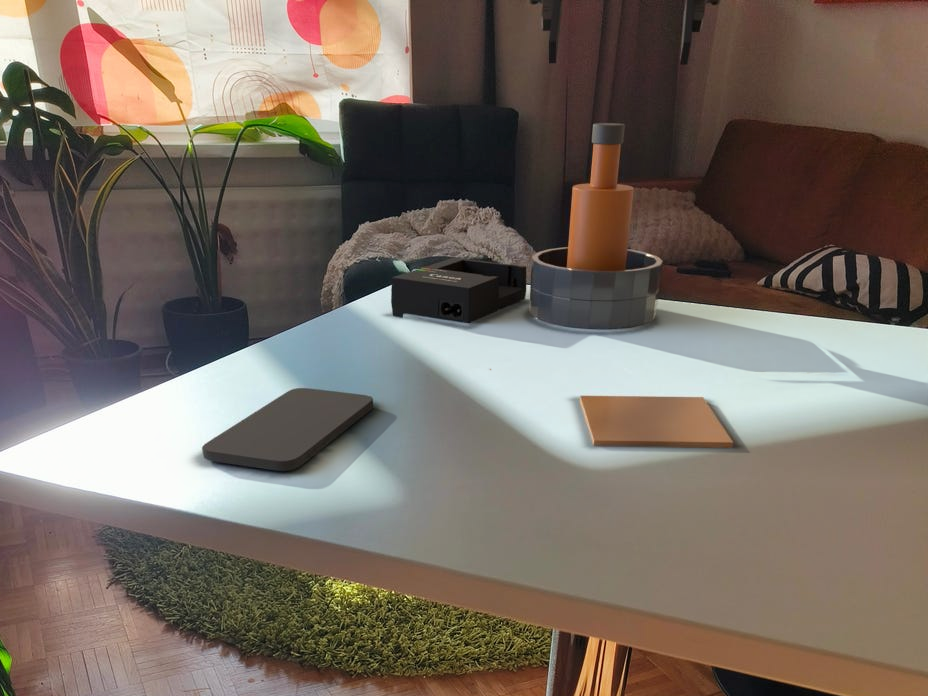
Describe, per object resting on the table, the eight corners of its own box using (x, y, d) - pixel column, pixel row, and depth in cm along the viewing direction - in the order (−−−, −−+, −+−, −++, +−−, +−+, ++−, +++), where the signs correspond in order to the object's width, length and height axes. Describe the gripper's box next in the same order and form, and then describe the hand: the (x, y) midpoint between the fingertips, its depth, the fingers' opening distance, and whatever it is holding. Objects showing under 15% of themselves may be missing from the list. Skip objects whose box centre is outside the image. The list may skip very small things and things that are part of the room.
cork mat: (702, 403, 72) (703, 396, 72) (732, 448, 64) (733, 442, 64) (579, 401, 73) (579, 395, 72) (593, 447, 64) (594, 440, 64)
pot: (643, 304, 100) (650, 247, 97) (664, 335, 89) (673, 272, 86) (526, 303, 101) (529, 246, 97) (533, 334, 90) (536, 271, 86)
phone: (378, 396, 71) (292, 463, 59) (378, 406, 71) (293, 475, 59) (294, 386, 73) (194, 449, 61) (295, 396, 73) (196, 461, 61)
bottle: (616, 306, 97) (635, 122, 88) (624, 320, 92) (645, 126, 83) (561, 305, 97) (574, 121, 88) (566, 319, 92) (580, 126, 83)
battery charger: (468, 329, 91) (469, 288, 89) (391, 316, 95) (390, 277, 93) (525, 303, 100) (527, 266, 98) (453, 293, 104) (453, 257, 102)
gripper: (746, -81, 98) (734, 84, 94) (520, -79, 101) (500, 81, 97) (762, -154, 91) (750, 22, 87) (518, -149, 94) (496, 20, 90)
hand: (618, 53), depth 92 cm, fingers open, 13 cm apart
